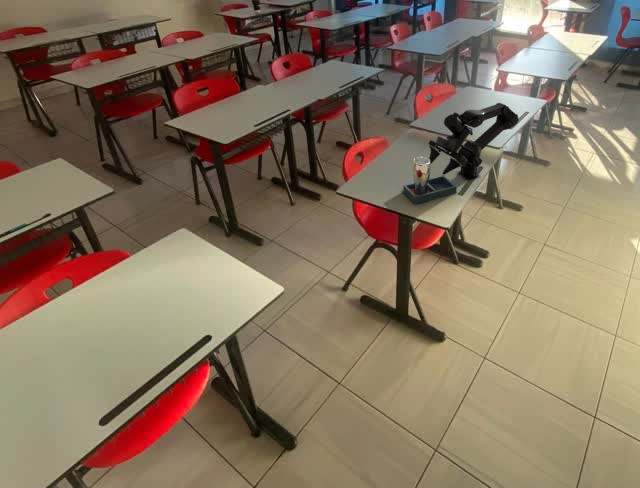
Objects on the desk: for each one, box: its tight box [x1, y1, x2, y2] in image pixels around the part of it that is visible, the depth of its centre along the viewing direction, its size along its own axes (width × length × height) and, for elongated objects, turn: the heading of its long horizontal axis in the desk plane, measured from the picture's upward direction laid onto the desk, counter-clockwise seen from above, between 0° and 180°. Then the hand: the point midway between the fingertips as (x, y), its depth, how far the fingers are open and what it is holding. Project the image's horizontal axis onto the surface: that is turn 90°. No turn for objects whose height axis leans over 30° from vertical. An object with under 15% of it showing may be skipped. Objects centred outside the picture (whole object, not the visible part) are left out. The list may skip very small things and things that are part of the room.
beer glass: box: [412, 156, 432, 196], centre depth 167 cm, size 7×7×15 cm
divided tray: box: [402, 174, 457, 205], centre depth 172 cm, size 19×10×3 cm, turn 115°
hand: (435, 169), depth 170 cm, fingers open, 9 cm apart
